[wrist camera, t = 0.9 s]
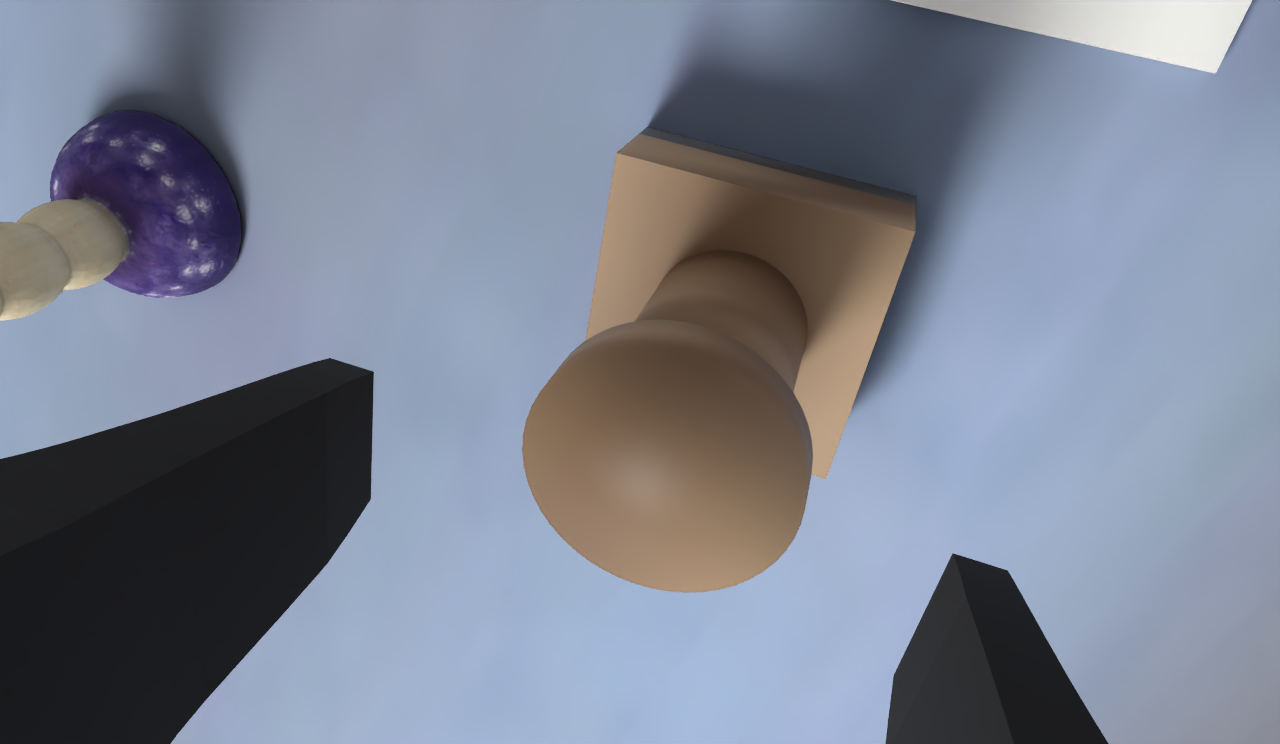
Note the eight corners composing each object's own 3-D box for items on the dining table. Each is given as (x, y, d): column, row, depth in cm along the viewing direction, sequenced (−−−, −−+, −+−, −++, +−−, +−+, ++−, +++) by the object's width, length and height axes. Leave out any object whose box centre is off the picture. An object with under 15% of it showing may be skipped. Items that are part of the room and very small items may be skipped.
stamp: (916, 195, 16) (913, 371, 10) (835, 424, 18) (795, 670, 12) (648, 126, 16) (499, 251, 10) (606, 355, 19) (467, 558, 13)
